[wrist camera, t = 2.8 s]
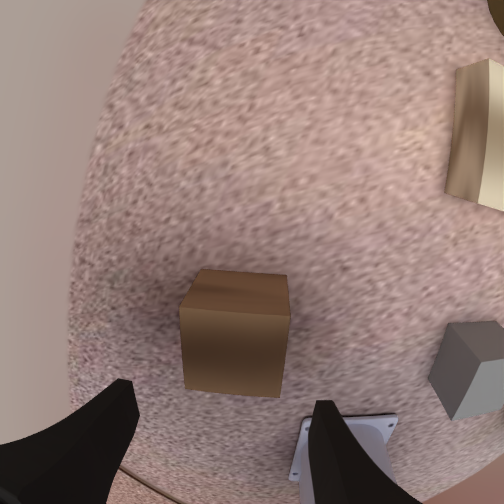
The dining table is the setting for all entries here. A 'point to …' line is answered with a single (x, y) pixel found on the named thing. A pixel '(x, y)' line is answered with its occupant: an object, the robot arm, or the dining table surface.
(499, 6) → the olive round-headed peg
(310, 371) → the dining table surface
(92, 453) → the robot arm
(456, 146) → the sticky note pad
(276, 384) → the walnut cube
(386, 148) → the dining table surface
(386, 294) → the dining table surface
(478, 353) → the slate cube
